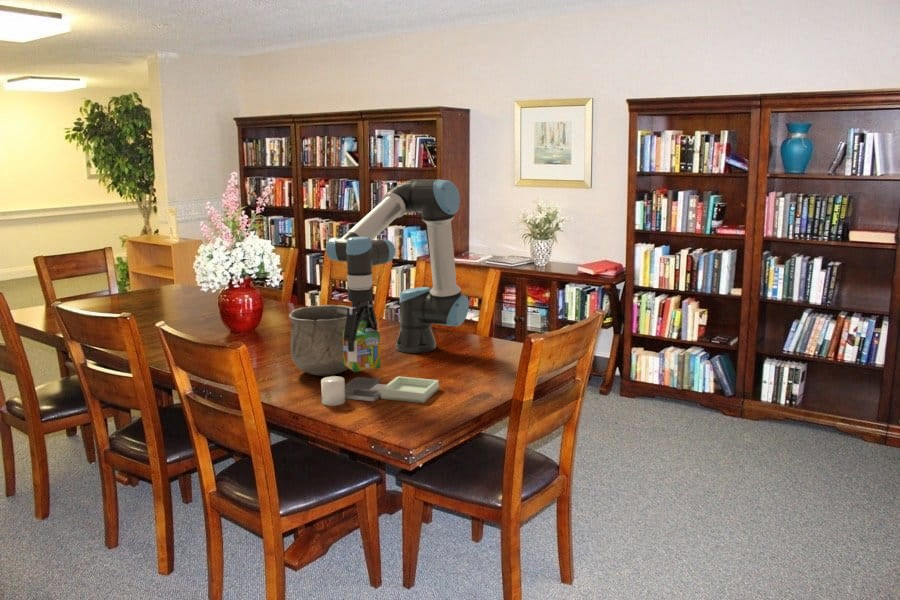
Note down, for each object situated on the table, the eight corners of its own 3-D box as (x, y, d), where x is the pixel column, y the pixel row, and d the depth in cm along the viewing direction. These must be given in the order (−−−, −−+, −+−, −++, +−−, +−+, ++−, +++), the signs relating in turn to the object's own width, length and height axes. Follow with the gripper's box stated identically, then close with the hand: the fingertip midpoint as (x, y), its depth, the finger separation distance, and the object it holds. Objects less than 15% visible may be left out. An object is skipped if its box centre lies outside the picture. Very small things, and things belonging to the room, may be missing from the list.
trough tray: (397, 385, 250) (397, 376, 249) (438, 389, 245) (438, 380, 245) (380, 398, 237) (380, 389, 236) (423, 403, 232) (423, 393, 232)
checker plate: (356, 379, 247) (356, 376, 246) (379, 382, 244) (379, 379, 244) (345, 387, 239) (345, 384, 239) (369, 389, 237) (369, 386, 236)
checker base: (353, 384, 250) (352, 379, 250) (390, 388, 246) (390, 382, 246) (335, 397, 238) (334, 391, 238) (373, 401, 234) (373, 395, 234)
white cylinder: (328, 397, 238) (327, 375, 237) (349, 399, 236) (348, 377, 235) (317, 404, 232) (316, 382, 230) (338, 406, 230) (338, 384, 228)
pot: (277, 371, 265) (274, 310, 261) (336, 359, 280) (334, 301, 276) (314, 388, 247) (312, 323, 242) (375, 374, 261) (374, 312, 257)
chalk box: (342, 365, 242) (341, 319, 239) (369, 361, 246) (368, 316, 244) (353, 372, 234) (352, 325, 231) (381, 368, 238) (380, 321, 236)
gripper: (365, 280, 248) (366, 345, 252) (330, 294, 225) (332, 365, 229) (386, 282, 246) (388, 347, 250) (354, 295, 223) (355, 367, 227)
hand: (361, 356), depth 240 cm, fingers closed on chalk box, 12 cm apart
